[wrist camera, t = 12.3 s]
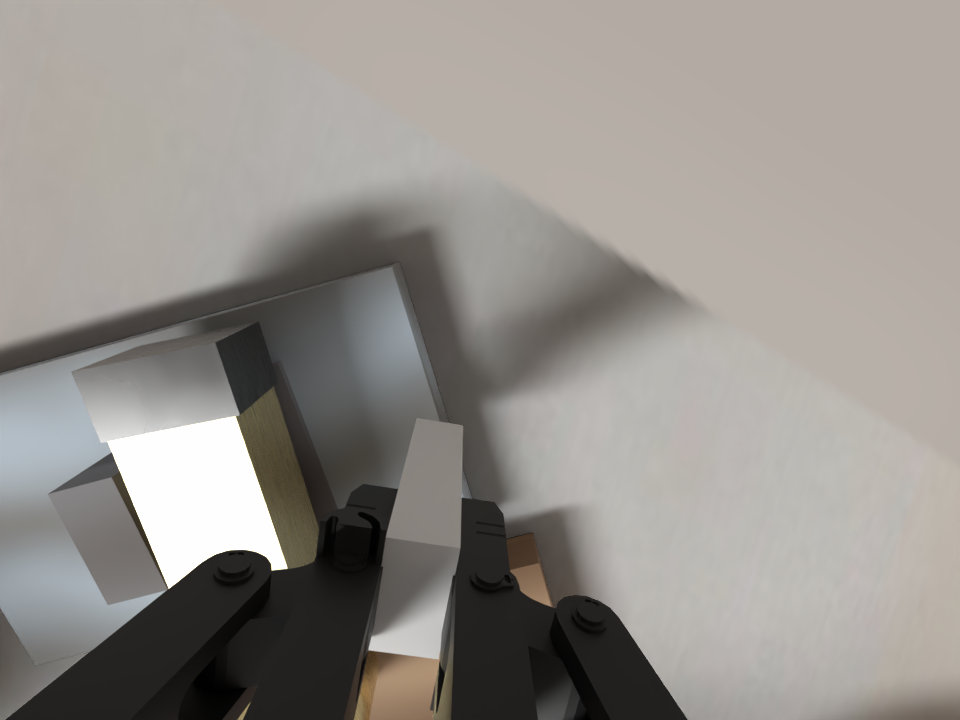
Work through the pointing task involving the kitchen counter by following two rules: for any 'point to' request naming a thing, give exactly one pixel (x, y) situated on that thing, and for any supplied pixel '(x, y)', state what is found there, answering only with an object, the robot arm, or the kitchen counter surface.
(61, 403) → the door and jamb
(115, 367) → the swing bar
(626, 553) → the kitchen counter surface
